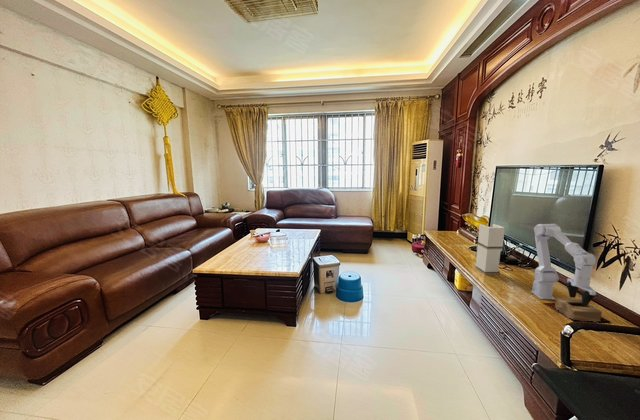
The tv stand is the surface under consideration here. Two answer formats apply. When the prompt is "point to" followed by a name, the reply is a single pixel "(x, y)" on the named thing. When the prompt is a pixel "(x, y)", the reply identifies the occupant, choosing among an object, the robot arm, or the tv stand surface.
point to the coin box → (577, 310)
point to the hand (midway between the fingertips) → (578, 301)
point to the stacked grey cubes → (489, 249)
